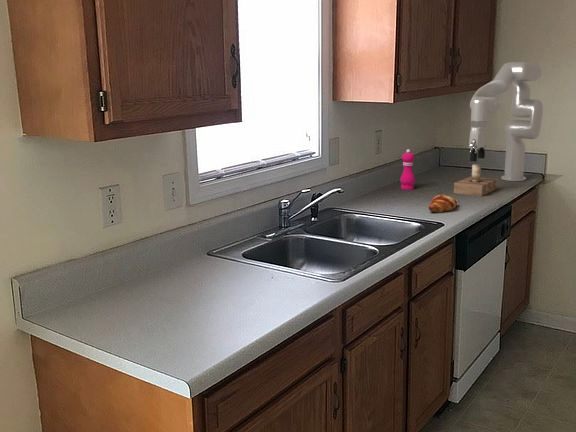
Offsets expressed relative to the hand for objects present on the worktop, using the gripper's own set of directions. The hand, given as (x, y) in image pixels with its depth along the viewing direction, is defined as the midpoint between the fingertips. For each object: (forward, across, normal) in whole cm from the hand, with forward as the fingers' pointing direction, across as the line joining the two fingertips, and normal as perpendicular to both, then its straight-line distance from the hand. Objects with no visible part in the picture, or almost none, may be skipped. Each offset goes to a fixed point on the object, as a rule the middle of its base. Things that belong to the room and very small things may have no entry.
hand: (477, 159), depth 315 cm
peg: (+15, 0, 0) cm, 15 cm away
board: (+16, 0, 0) cm, 16 cm away
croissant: (+16, +44, +3) cm, 47 cm away
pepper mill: (+16, +12, -31) cm, 37 cm away
